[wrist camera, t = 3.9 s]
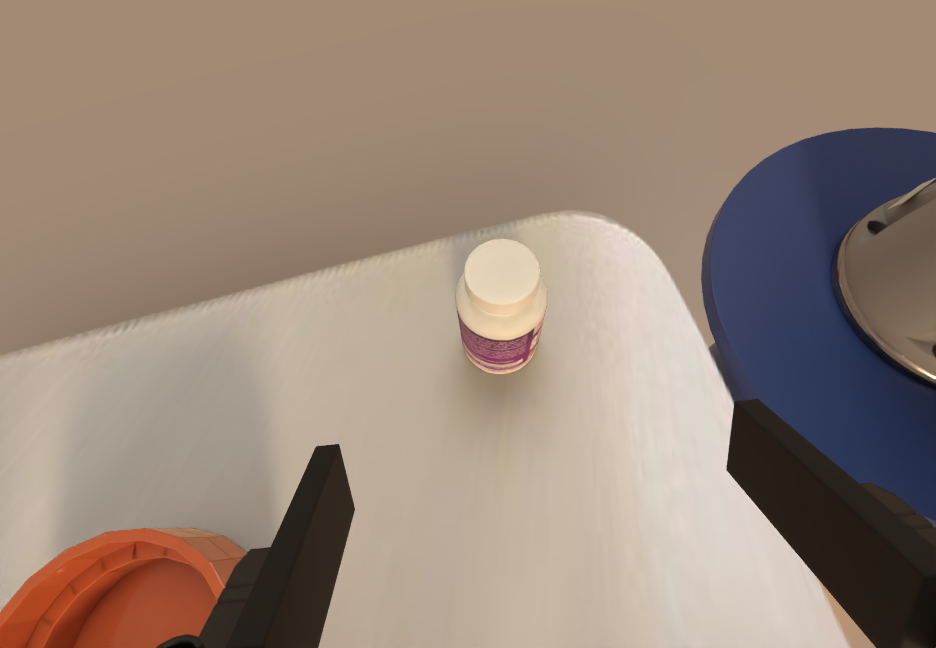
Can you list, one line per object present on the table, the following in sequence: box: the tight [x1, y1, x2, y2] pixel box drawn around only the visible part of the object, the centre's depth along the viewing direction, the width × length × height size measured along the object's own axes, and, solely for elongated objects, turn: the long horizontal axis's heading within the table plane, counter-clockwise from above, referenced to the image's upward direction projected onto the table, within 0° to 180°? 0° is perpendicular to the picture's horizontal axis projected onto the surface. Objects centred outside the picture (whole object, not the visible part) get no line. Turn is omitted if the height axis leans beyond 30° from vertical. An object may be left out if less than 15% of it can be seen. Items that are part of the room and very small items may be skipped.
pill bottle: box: [455, 239, 548, 374], centre depth 29 cm, size 5×5×10 cm
